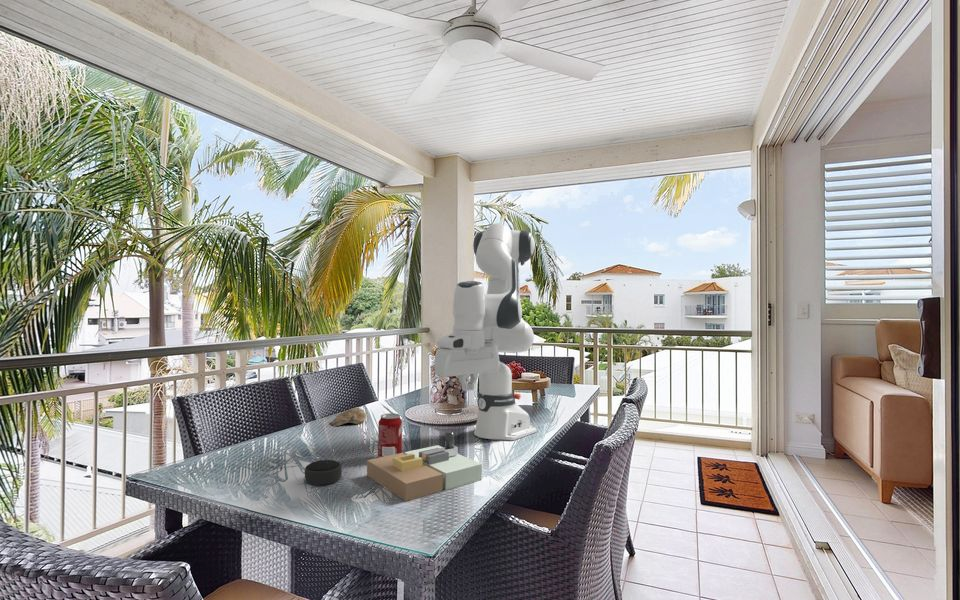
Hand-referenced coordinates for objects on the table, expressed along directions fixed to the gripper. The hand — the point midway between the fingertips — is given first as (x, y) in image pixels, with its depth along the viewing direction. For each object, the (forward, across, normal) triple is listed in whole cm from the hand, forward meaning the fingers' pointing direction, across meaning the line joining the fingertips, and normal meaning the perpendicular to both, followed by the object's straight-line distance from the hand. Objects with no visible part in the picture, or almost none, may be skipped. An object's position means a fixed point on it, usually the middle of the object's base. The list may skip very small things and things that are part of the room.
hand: (468, 390), depth 134 cm
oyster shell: (+21, +7, -63) cm, 67 cm away
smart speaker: (+21, +35, -14) cm, 43 cm away
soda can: (+21, +13, -20) cm, 32 cm away
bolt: (+17, +9, 0) cm, 19 cm away
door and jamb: (+21, +15, 0) cm, 26 cm away
